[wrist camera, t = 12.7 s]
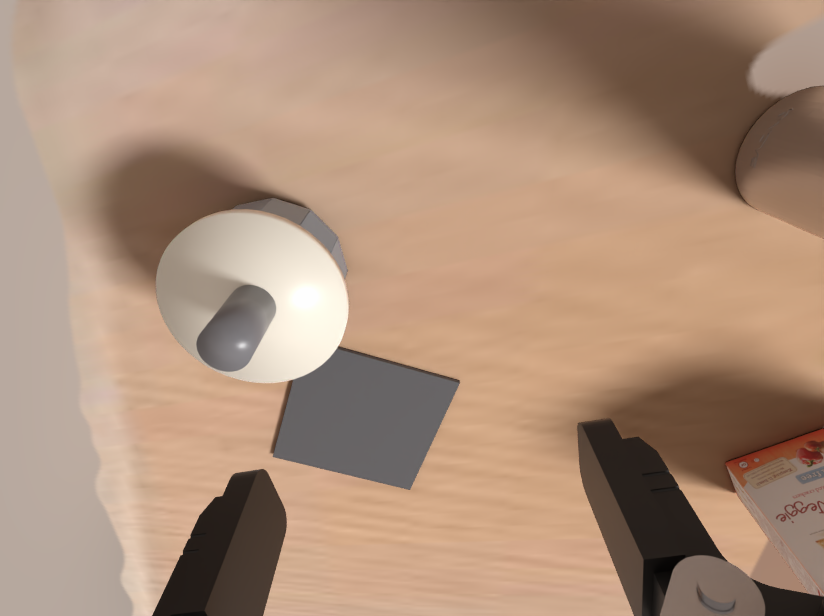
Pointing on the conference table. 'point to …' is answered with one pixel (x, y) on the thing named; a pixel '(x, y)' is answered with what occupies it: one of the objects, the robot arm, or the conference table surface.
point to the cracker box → (788, 502)
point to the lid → (252, 296)
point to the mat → (364, 417)
